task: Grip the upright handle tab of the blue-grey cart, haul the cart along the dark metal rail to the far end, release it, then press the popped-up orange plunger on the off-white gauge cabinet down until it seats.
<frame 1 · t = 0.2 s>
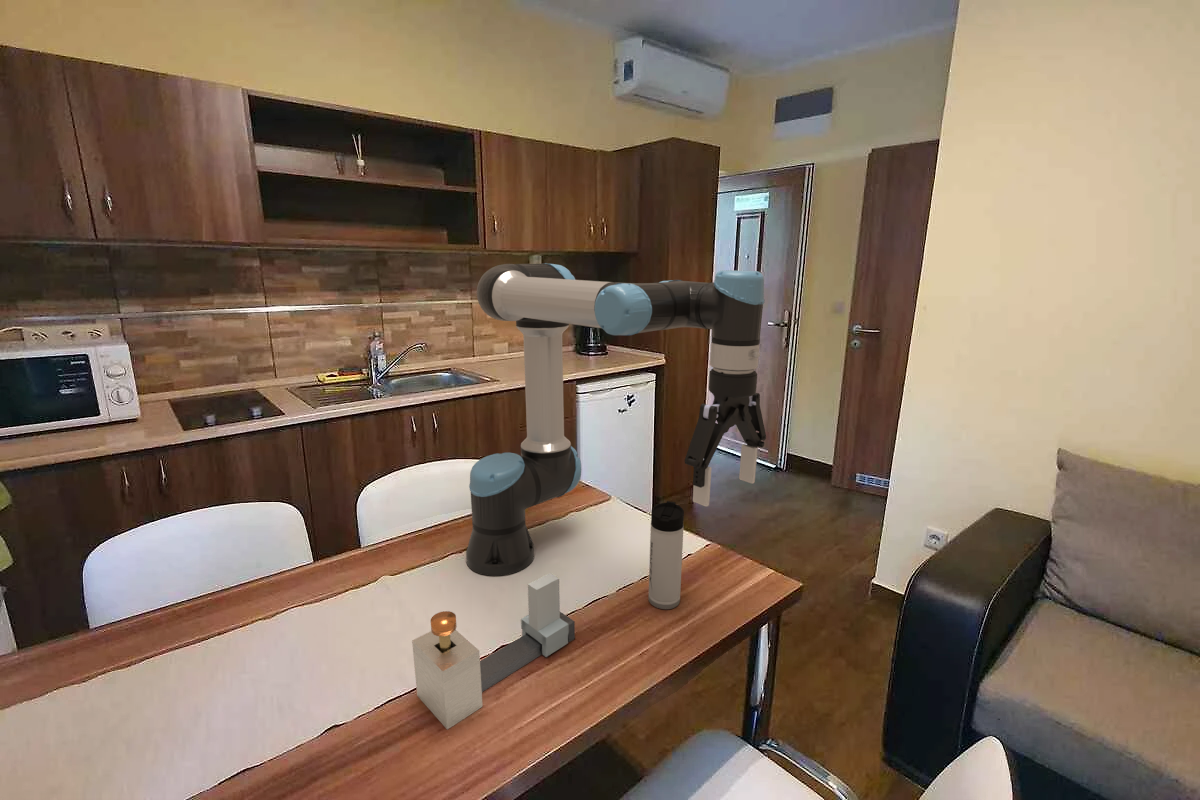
hand: (724, 491, 94), 28 cm above the table, fingers open, 13 cm apart
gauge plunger: (445, 643, 83), point 10 cm above the table, slide at 0.0 cm
carriage: (544, 611, 97), point 6 cm above the table, slide at 0.0 cm
travel mug: (664, 600, 111), on the table
rail: (515, 660, 94), on the table
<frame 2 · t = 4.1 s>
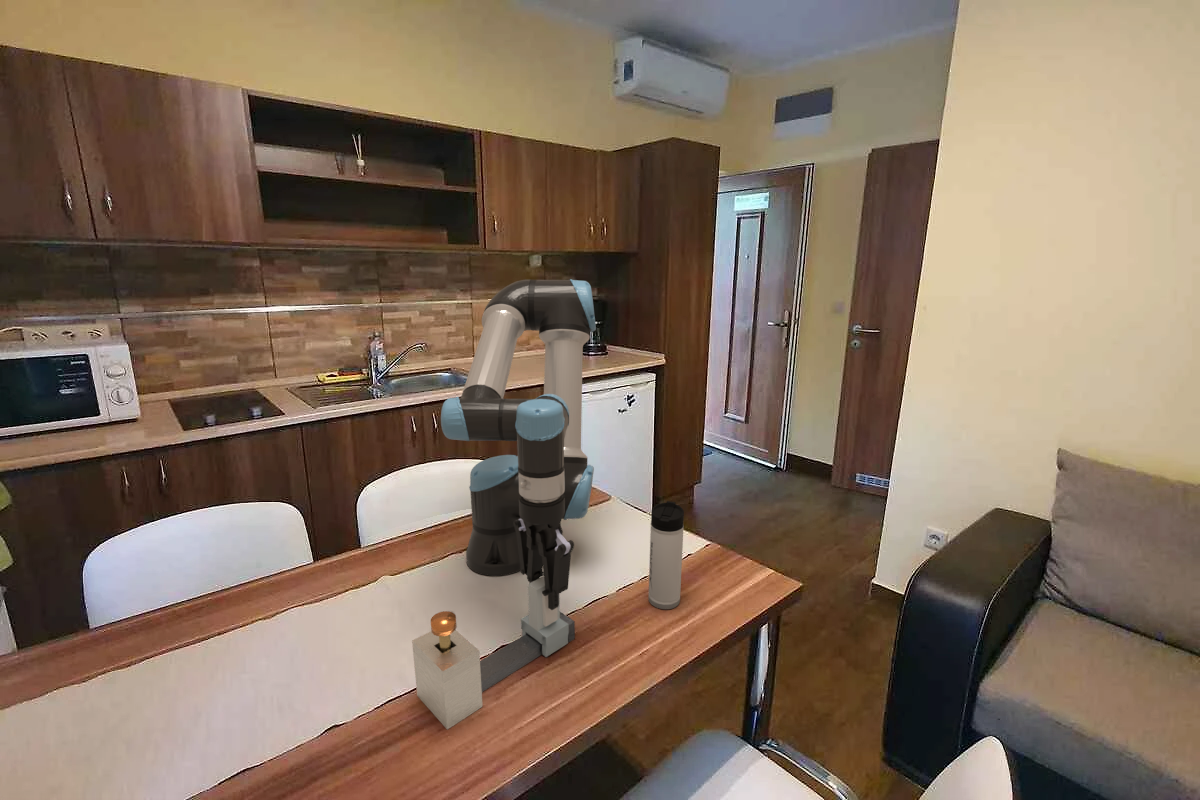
hand: (544, 617, 97), 5 cm above the table, fingers closed on carriage, 2 cm apart
carriage: (544, 611, 97), point 6 cm above the table, slide at 0.0 cm, touching gripper
everything else where it was.
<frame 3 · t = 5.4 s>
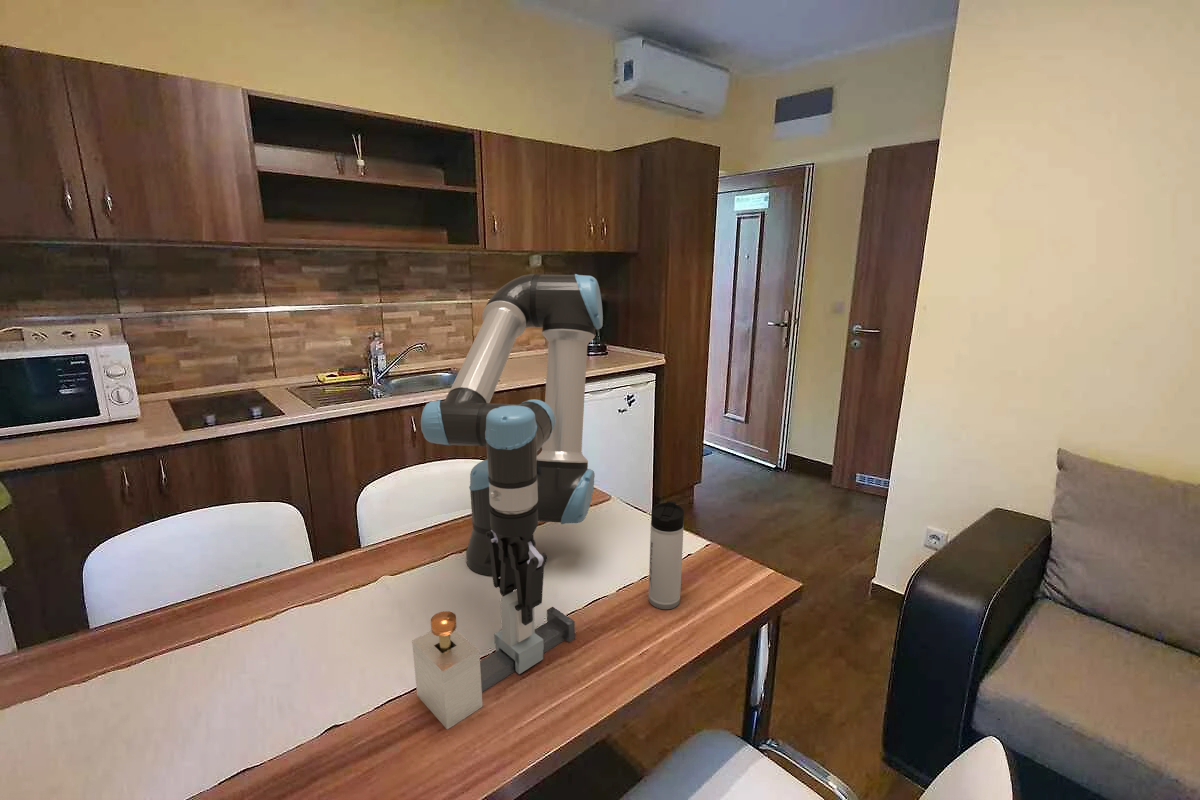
hand: (518, 632, 93), 5 cm above the table, fingers closed on carriage, 2 cm apart
carriage: (518, 626, 93), point 6 cm above the table, slide at 5.7 cm, touching gripper
everything else where it was.
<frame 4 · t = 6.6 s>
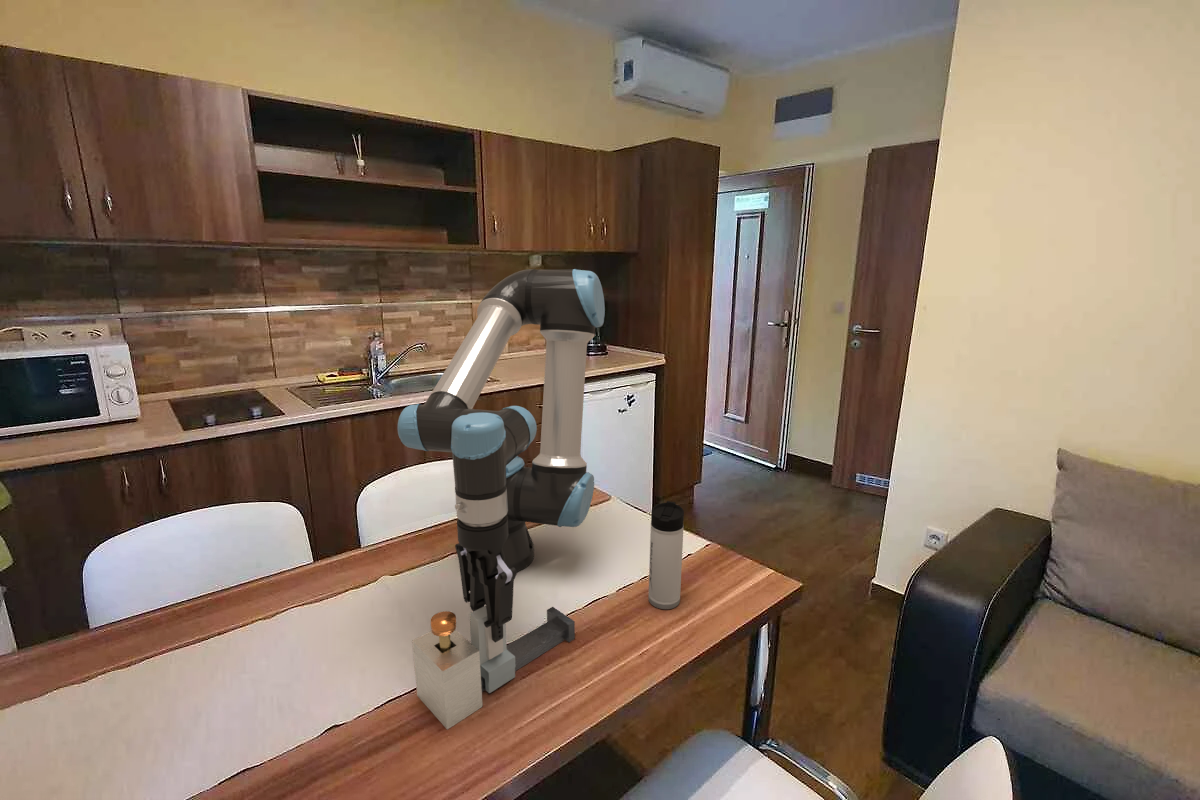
hand: (489, 649, 89), 5 cm above the table, fingers closed on carriage, 2 cm apart
carriage: (488, 642, 89), point 6 cm above the table, slide at 11.5 cm, touching gripper
everything else where it was.
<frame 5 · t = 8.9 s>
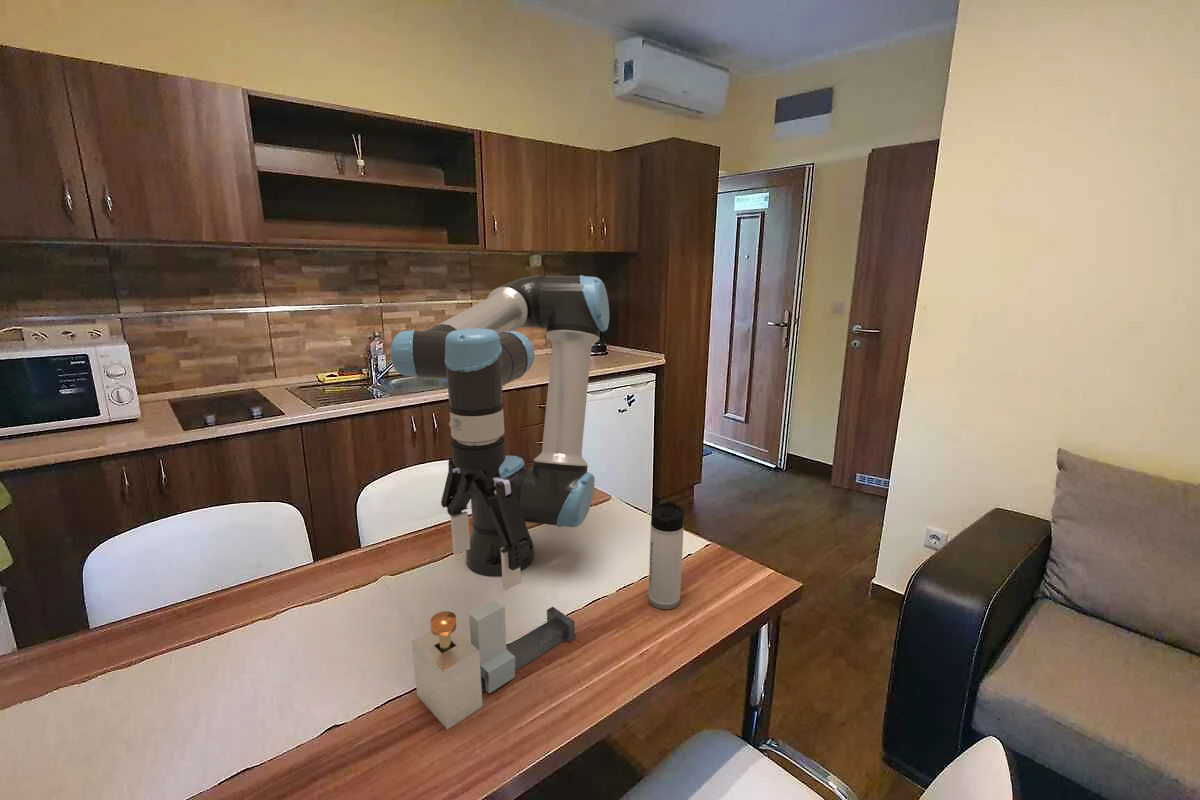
hand: (485, 567, 86), 20 cm above the table, fingers open, 13 cm apart
carriage: (488, 642, 89), point 6 cm above the table, slide at 11.5 cm
everything else where it was.
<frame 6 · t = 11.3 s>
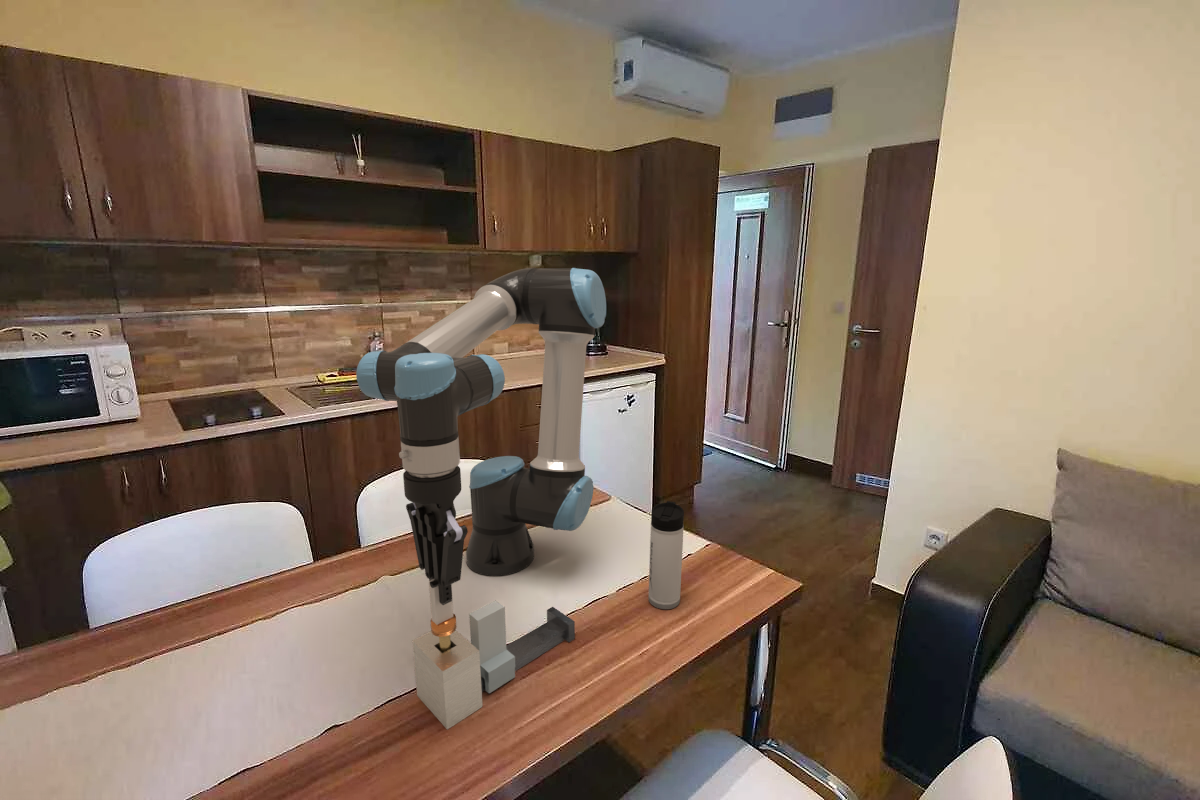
hand: (442, 618, 81), 15 cm above the table, fingers closed
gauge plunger: (445, 644, 83), point 10 cm above the table, slide at 0.1 cm, touching gripper
everything else where it was.
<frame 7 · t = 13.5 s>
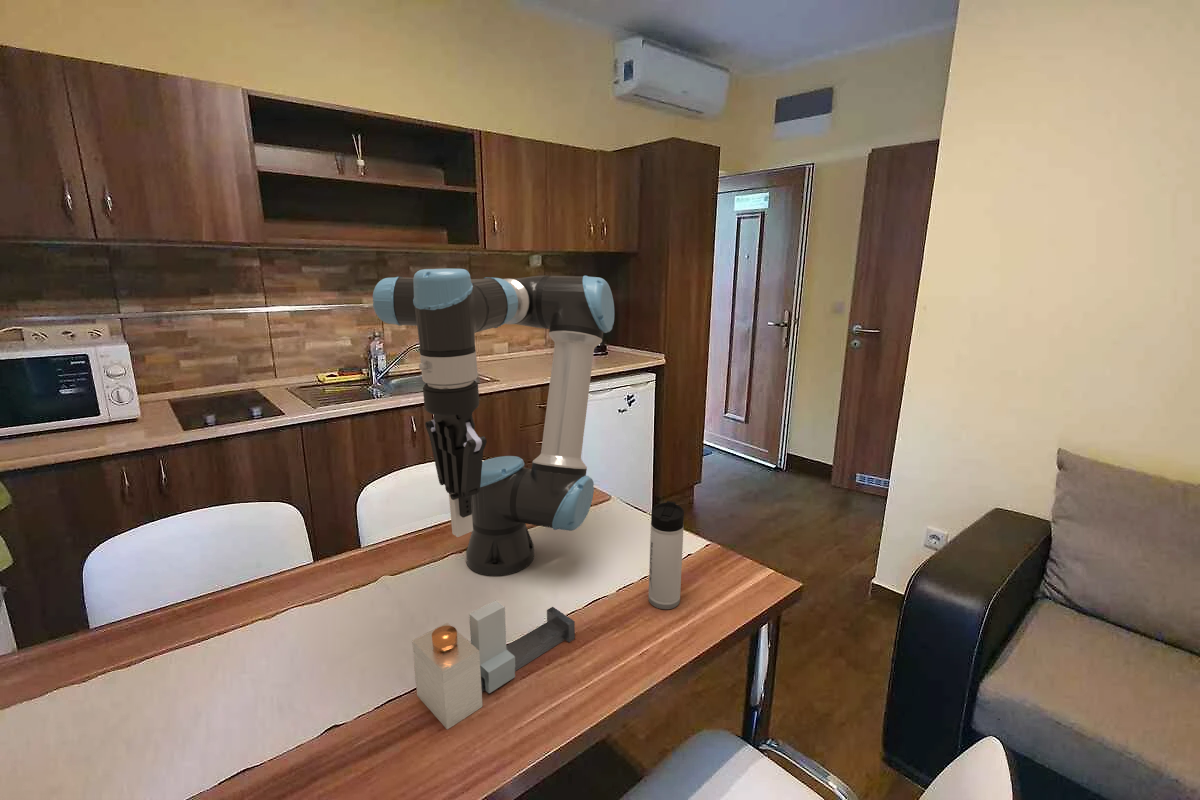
hand: (462, 532, 84), 26 cm above the table, fingers closed
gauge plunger: (446, 657, 83), point 8 cm above the table, slide at 2.5 cm
everything else where it was.
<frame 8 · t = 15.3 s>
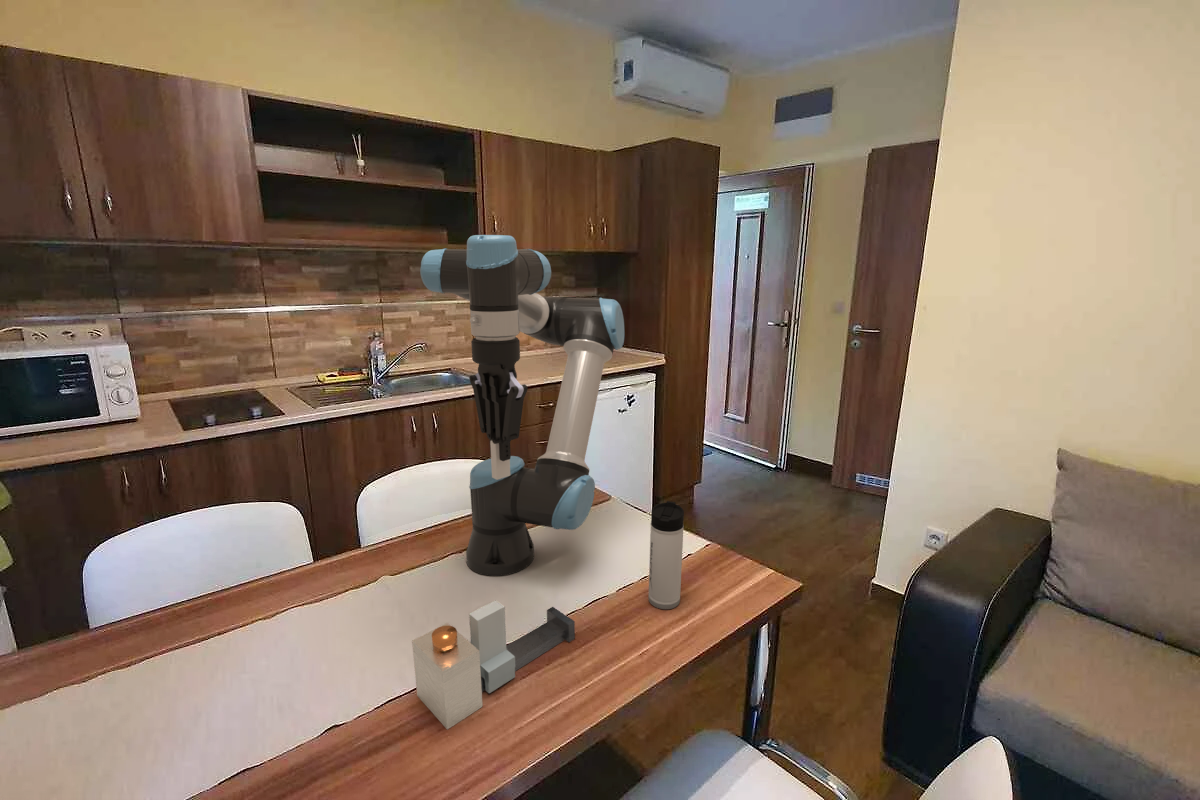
hand: (501, 476, 93), 30 cm above the table, fingers closed
nothing on the table moved.
at the end: carriage slide at 11.5 cm; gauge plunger slide at 2.5 cm; the gripper is holding nothing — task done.
